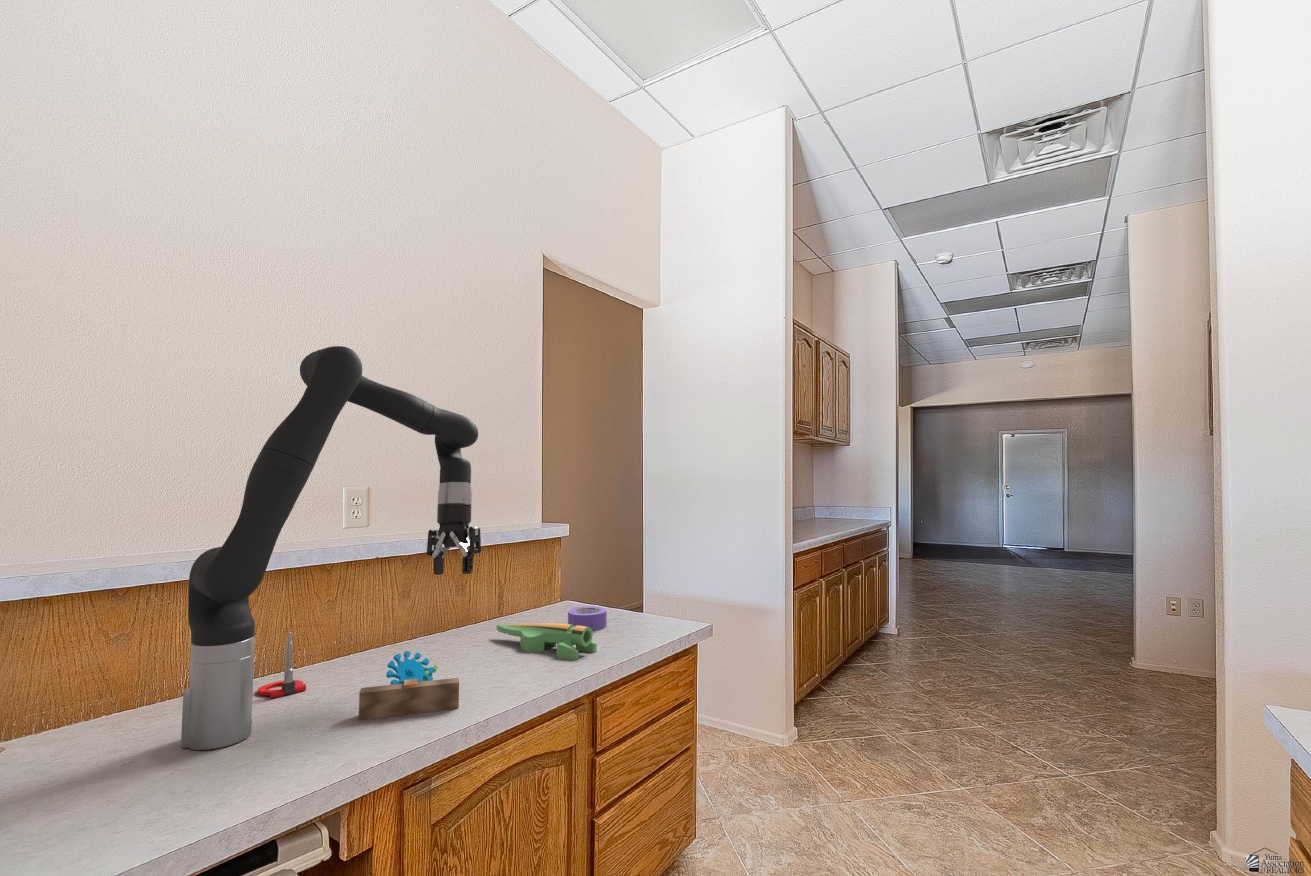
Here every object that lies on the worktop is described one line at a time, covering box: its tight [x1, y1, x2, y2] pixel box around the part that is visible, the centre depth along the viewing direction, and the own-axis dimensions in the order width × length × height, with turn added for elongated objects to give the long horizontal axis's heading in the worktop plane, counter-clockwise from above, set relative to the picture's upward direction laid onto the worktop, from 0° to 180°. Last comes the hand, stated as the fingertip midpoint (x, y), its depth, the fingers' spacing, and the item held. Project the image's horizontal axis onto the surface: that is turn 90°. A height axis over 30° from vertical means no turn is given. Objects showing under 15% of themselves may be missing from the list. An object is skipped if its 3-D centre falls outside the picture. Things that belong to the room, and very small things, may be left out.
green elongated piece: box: [496, 622, 598, 661], centre depth 166 cm, size 32×10×7 cm, turn 59°
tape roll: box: [567, 605, 608, 632], centre depth 188 cm, size 12×12×5 cm
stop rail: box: [358, 677, 460, 721], centre depth 121 cm, size 18×3×6 cm, turn 109°
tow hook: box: [256, 631, 307, 699], centre depth 133 cm, size 8×13×9 cm
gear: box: [385, 650, 439, 685], centre depth 134 cm, size 11×6×10 cm
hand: (452, 574), depth 141 cm, fingers open, 8 cm apart
